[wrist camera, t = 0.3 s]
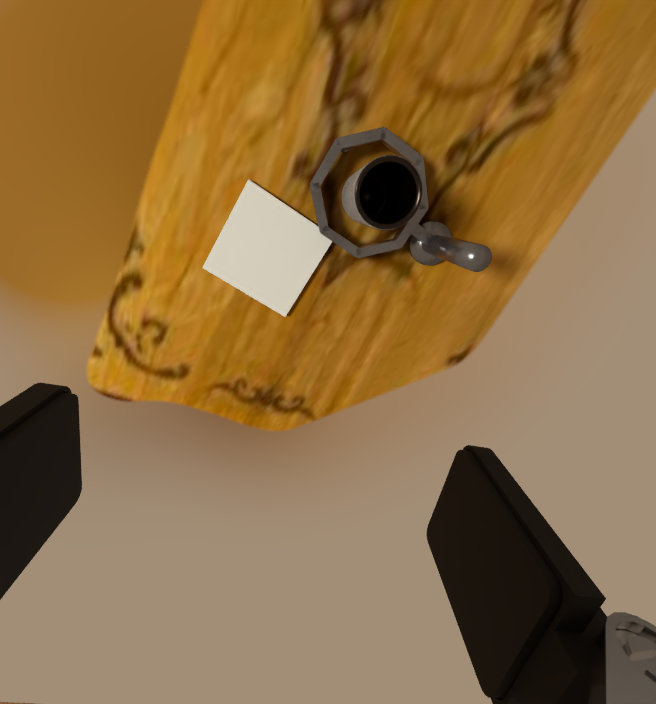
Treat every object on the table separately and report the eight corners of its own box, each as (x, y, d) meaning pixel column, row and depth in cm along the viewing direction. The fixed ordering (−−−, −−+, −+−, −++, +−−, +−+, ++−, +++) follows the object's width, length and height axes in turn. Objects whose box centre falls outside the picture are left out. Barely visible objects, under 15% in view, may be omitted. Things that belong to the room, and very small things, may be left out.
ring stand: (352, 111, 31) (373, 65, 21) (477, 210, 34) (549, 212, 24) (293, 213, 34) (286, 217, 24) (415, 295, 37) (455, 329, 27)
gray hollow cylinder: (393, 217, 34) (426, 222, 25) (346, 228, 34) (360, 236, 25) (386, 164, 33) (419, 147, 23) (336, 175, 33) (348, 163, 23)
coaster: (249, 179, 32) (248, 179, 32) (334, 237, 35) (334, 237, 34) (204, 266, 35) (202, 267, 34) (285, 315, 37) (285, 316, 37)
